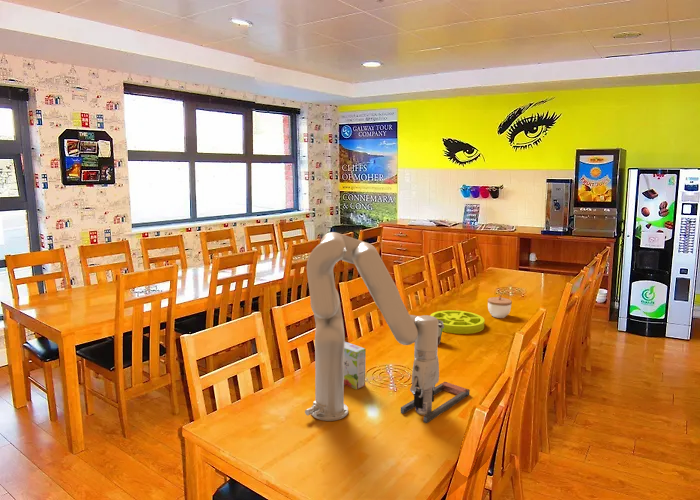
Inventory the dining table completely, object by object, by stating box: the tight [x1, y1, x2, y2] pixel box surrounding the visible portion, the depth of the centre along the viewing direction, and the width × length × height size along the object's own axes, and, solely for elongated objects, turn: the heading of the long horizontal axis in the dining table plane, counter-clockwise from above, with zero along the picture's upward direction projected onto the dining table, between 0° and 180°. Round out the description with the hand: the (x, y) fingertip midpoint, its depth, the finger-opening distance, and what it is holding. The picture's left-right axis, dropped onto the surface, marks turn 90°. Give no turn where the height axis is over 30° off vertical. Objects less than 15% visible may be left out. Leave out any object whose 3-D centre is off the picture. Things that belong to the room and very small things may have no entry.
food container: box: [438, 320, 444, 346], centre depth 243 cm, size 12×6×10 cm, turn 58°
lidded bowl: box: [487, 296, 513, 319], centre depth 283 cm, size 13×13×11 cm
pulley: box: [429, 309, 485, 335], centre depth 267 cm, size 28×28×5 cm
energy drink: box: [415, 385, 433, 416], centre depth 173 cm, size 5×5×12 cm
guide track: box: [400, 381, 471, 424], centre depth 180 cm, size 28×10×2 cm, turn 138°
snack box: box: [344, 341, 366, 390], centre depth 198 cm, size 21×6×15 cm, turn 47°
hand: (423, 403), depth 174 cm, fingers open, 5 cm apart
